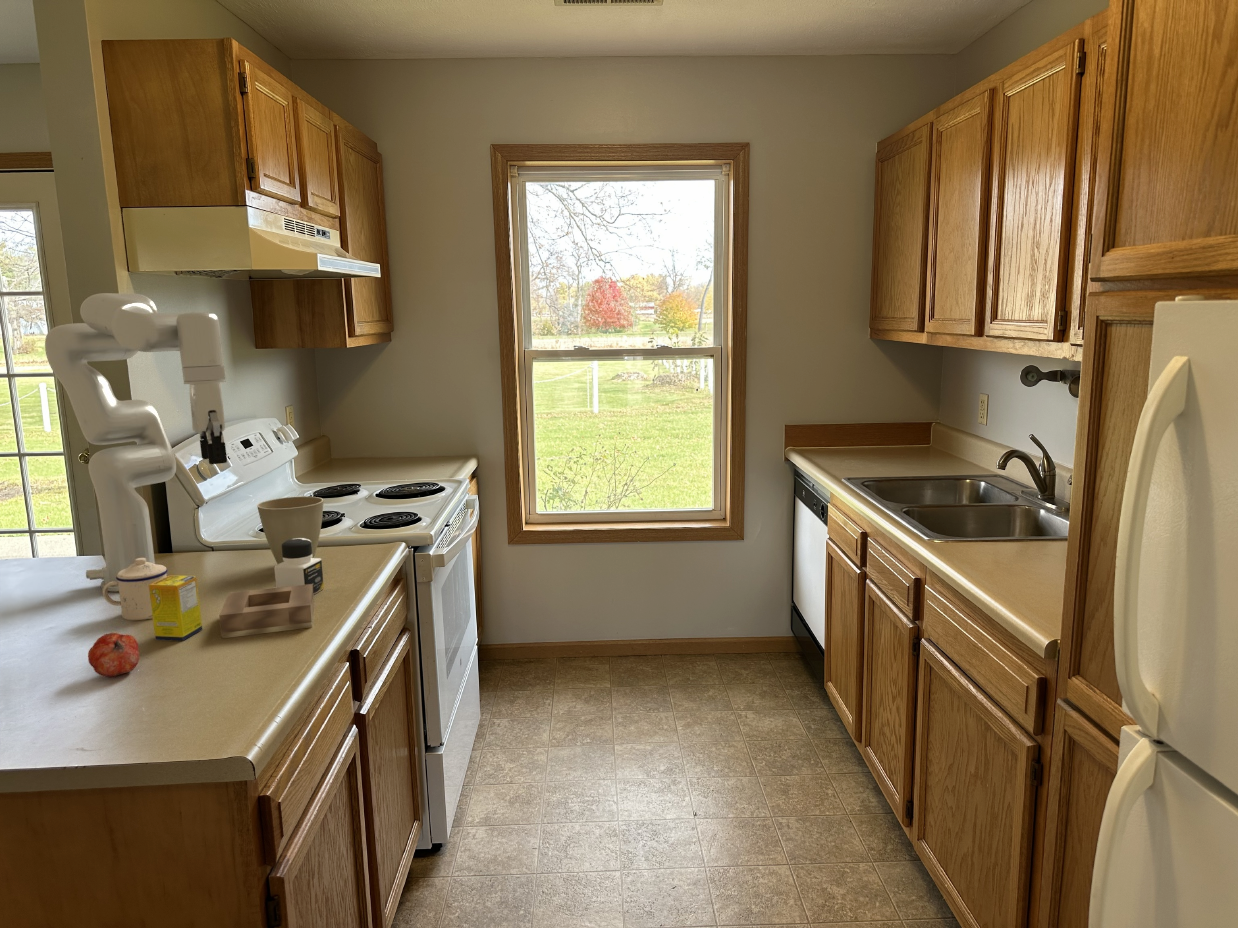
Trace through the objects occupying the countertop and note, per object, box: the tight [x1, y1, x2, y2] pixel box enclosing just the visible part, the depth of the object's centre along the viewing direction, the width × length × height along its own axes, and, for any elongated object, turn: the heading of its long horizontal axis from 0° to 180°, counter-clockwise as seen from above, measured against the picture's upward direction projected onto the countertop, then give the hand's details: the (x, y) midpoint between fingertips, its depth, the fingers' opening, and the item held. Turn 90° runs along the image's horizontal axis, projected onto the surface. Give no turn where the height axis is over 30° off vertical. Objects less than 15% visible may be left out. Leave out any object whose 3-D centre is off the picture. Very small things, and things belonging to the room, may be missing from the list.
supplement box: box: [149, 574, 203, 642], centre depth 158 cm, size 6×6×11 cm
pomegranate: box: [87, 632, 140, 678], centre depth 141 cm, size 7×7×10 cm
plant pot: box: [256, 495, 324, 565], centre depth 201 cm, size 15×15×16 cm
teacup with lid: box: [102, 558, 168, 621], centre depth 170 cm, size 12×9×12 cm
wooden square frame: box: [219, 584, 315, 639], centre depth 165 cm, size 16×14×4 cm
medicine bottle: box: [274, 538, 325, 596], centre depth 181 cm, size 7×7×12 cm
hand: (214, 460), depth 168 cm, fingers open, 9 cm apart
